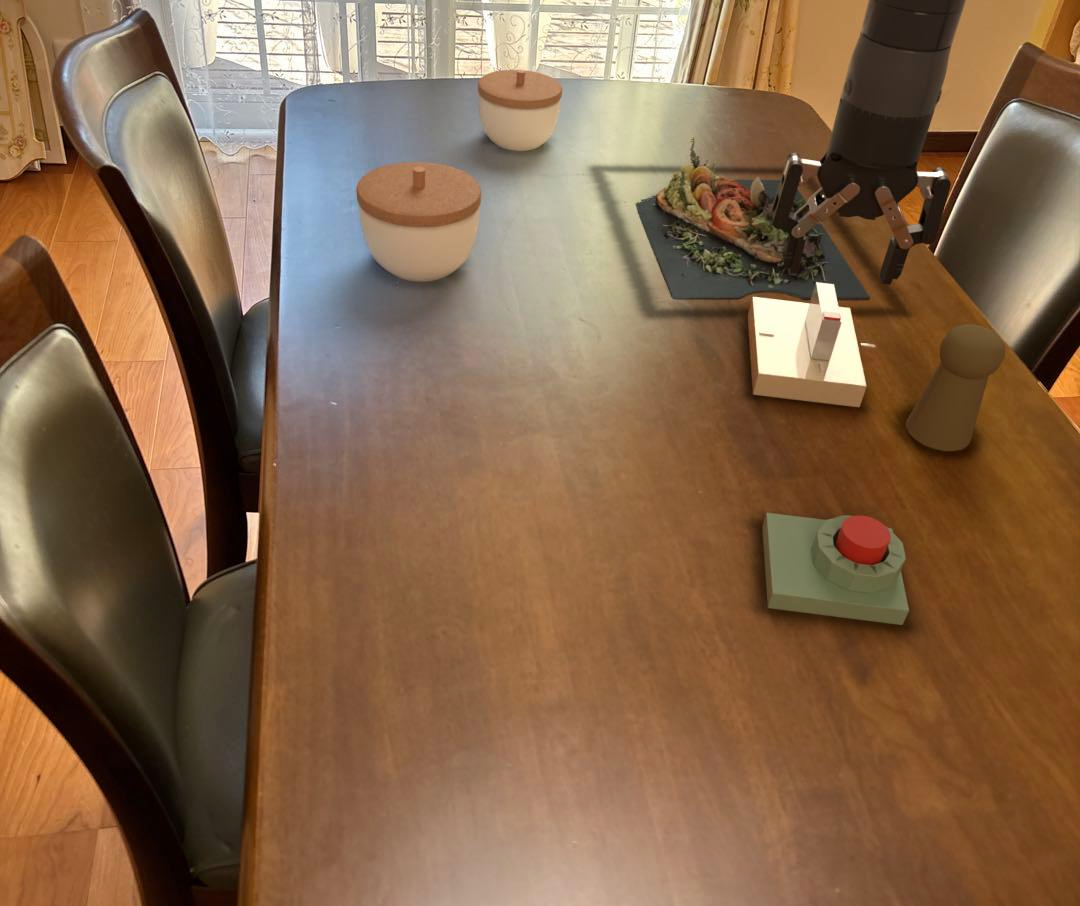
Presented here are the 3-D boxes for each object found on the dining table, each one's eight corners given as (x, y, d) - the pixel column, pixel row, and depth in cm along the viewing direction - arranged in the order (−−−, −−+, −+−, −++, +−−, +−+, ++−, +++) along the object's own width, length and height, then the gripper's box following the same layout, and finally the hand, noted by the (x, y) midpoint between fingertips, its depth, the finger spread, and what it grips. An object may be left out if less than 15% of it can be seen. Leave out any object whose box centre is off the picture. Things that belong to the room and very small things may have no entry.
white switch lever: (805, 319, 102) (816, 279, 99) (823, 321, 102) (835, 281, 99) (810, 358, 97) (822, 317, 94) (829, 360, 97) (842, 319, 93)
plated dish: (591, 173, 130) (598, 116, 125) (799, 177, 135) (814, 122, 129) (650, 324, 105) (662, 260, 100) (903, 323, 110) (927, 261, 105)
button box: (884, 547, 83) (899, 511, 80) (900, 630, 76) (917, 593, 73) (760, 532, 83) (771, 495, 80) (765, 613, 76) (778, 576, 74)
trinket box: (512, 169, 130) (516, 93, 123) (460, 139, 135) (460, 65, 128) (574, 149, 135) (580, 76, 129) (521, 122, 140) (525, 50, 134)
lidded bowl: (338, 259, 110) (331, 159, 103) (435, 230, 116) (435, 134, 109) (403, 311, 103) (400, 208, 96) (502, 278, 110) (507, 178, 102)
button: (880, 535, 78) (887, 518, 77) (886, 568, 76) (894, 551, 74) (833, 529, 78) (839, 512, 77) (838, 561, 76) (844, 545, 74)
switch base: (857, 334, 106) (866, 308, 104) (874, 414, 96) (885, 387, 94) (746, 321, 106) (752, 294, 104) (751, 399, 96) (758, 371, 94)
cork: (962, 420, 96) (1007, 318, 89) (975, 460, 92) (1024, 357, 84) (897, 413, 96) (937, 311, 89) (908, 453, 92) (950, 349, 84)
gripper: (968, 88, 85) (909, 264, 97) (798, 71, 86) (758, 248, 97) (987, 122, 80) (922, 305, 91) (805, 103, 81) (762, 287, 92)
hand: (837, 275), depth 94 cm, fingers open, 8 cm apart
